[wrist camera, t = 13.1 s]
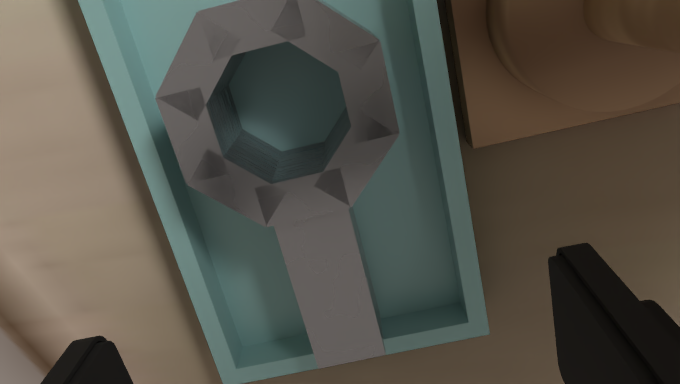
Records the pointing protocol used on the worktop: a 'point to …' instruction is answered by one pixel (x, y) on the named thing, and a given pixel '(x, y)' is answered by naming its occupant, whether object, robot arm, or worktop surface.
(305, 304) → the wrench
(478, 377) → the worktop surface
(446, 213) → the tray
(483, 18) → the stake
